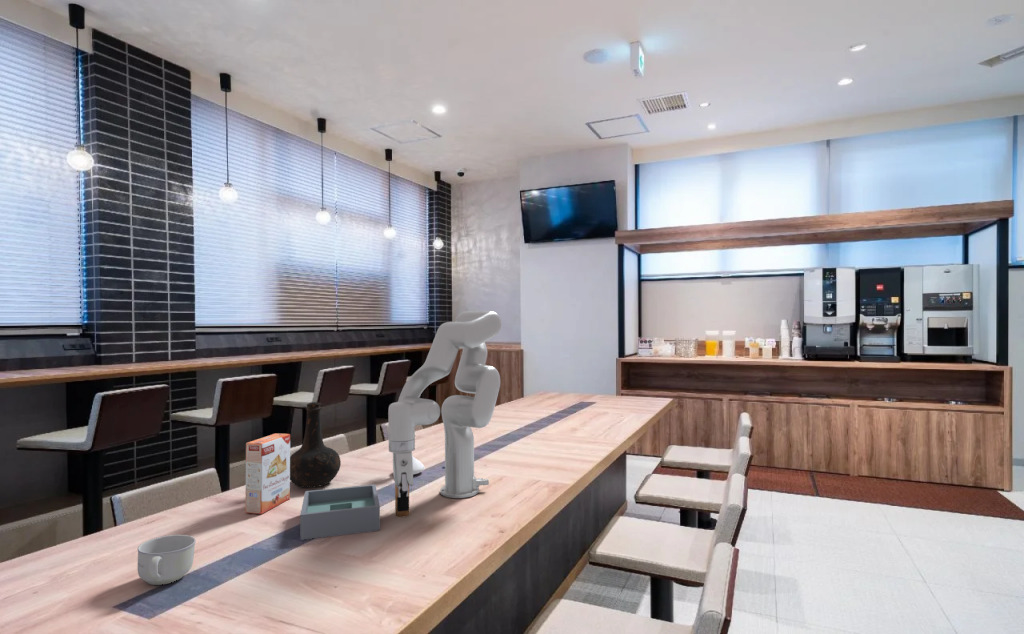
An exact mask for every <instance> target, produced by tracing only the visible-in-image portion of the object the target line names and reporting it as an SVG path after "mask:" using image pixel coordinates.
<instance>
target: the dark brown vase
mask: <svg viewBox="0 0 1024 634" xmlns="http://www.w3.org/2000/svg"><path fill="white" fill-rule="evenodd" d="M321 404H322V403H321V402H320V401H319V402H308V403H307V404H306V408H305V410H306V422H305V431H304V437H303V441H302V444H301V447H300V448H299V449H297V450H296V451H295V452H293V453H292V454H290V482H291V483H293V484H294V485H295V486H297V487H301V488H308V489H309V488H317V487H322V486H324V485H327V484H329V483H330V482H332V481H333V480H334V478H336V477H337V474H338V473H339V471H340V470H341V469H340V468H341V463H342V462H341V457H340V455H339V453H338V452H337V451H336V450H334V449H333V448H330V447H328V446H326V445H325V444H324V441H323V440H324V439H323V433H322V423H321V410H323V407H321Z"/></svg>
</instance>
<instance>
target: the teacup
mask: <svg viewBox="0 0 1024 634" xmlns="http://www.w3.org/2000/svg"><path fill="white" fill-rule="evenodd" d="M195 545H196V538H195V537H194V536H192V535H187V534H170V535H164V536H163V535H162V536H158V537H155V538H150V539H148V540H145V541H143V542H142V543H140V544H139V545H138V547H137V551H138V552H137V574H138V576H139V578H140V579H141V580H142V581H144V582H145V583H147V584H148V585H152V586H160V585H162V584H163V585H167V584H171V582H172V583H175V582H177V581H179V580H180V579H182V578H183V577H184V576H185V575H186V574H187V573H189V571H190V570H191V569H192V567H193V564H194V558H195V548H196V547H195ZM176 580H177V581H176ZM174 581H175V582H174Z"/></svg>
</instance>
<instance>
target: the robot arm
mask: <svg viewBox="0 0 1024 634" xmlns="http://www.w3.org/2000/svg"><path fill="white" fill-rule="evenodd" d="M456 316H457V317H456V318H455V321H447V322H443V323H441V324H440V326H439V327H438V328H437V330H436V334H435V336H434V338H433V341H432V344H431V346H430V349H429V352H428V353H427V356H426V358H425V362H424V363H423V365H421V367H419V368H418V369H417V370H416V371H414V373H413V374H412V375H411V376H409V378H408V380H407V381H406V382H405V383H404V385H403V387H402V390H401V392H400V394H399V397H398V400H397V401H396V402H392V403H390V404H389V405H388V413H387V415H388V452H390V453H392V471H393V472H392V474H393V480H394V485H395V484H396V487H398V497H397V510H398V511H408V510H409V511H410V495H409V496H408V483H409V486H410V487H413V486H414V474H413V461H412V455H413V452H414V451H416V450H415V449H416V444H415V443H416V436H415V435H416V431H415V430H416V426H427V425H428V426H429V425H431V424H434V423H436V421H438V419H439V418H440V416H441V417H442V419H441V420H442V422H443V429H444V485H443V486H442V487H441V488H440V491H439V492H440V494H441V496H443V497H446V498H451V499H465V498H466V499H467V498H470V497H474V496H475V495H477V494H479V492H480V488H479V487H480V486H489V483H490V481H489V478H484V477H479V478H476V476H475V437H474V436H475V435H474V432H473V430H472V428H475V429H483V428H486V426H488V425H489V423H490V422H491V420H492V417H493V414H494V411H495V407H496V403H497V399H498V397H499V391H500V388H501V376H500V372H499V371H498V369H497V368H496V367H494V366H492V365H487V364H486V363H487V358H488V348H487V345H486V342H488V341H489V340H491V339H492V338H494V337H495V336H497V335H498V334H499V332H500V331H501V329H502V319H501V316H500V315H499V314H498V313H497V312H495V311H492V310H470V311H469V310H466V311H462V312H460V313H459V314H458V315H456ZM460 349H462V353H461V356H460V360H459V364H458V367H457V370H456V374H455V378H454V386H455V388H456V390H458V391H459V392H463V393H467V394H474V396H470V395H462V394H461V395H459V394H455V395H450V396H448V397H447V398H446V399H444V401H443V403H442V405H441V407H440V405H439V404H438V403H437V402H436V401H435V400H433V399H428V398H421V396H422V395H421V394H422V393H423V392H424V390H425V389H426V388H428V386H429V385H431V384H432V383H434V382H436V381H438V380H441V379H443V378H445V377H447V376H448V375H450V373H451V371H452V368H453V366H454V364H455V361H456V358H457V354H458V352H459V350H460ZM400 484H402V486H400ZM400 489H402V490H401V491H400Z"/></svg>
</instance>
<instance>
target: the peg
mask: <svg viewBox="0 0 1024 634" xmlns="http://www.w3.org/2000/svg"><path fill="white" fill-rule="evenodd" d="M400 486H402V484H400ZM401 490H402V489H400V491H401ZM408 496H409V497H410V485H409V483H408ZM394 497H395V498H394V501H395V502H394V504H395V505H394V509H395V510H394V511H395V513H394V515H395V517H397V518H405V517H408V516H410V509H409V510H408V511H398V510H397V497H398V487H396V484H395V483H394Z"/></svg>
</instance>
